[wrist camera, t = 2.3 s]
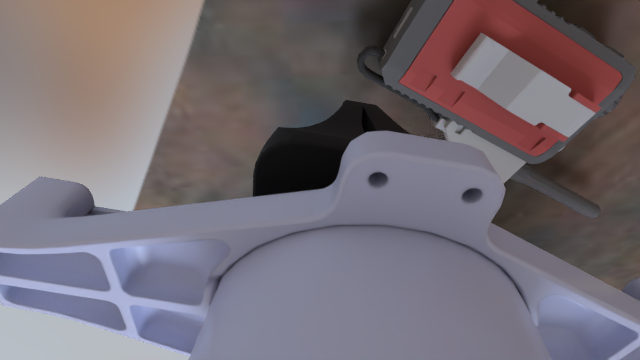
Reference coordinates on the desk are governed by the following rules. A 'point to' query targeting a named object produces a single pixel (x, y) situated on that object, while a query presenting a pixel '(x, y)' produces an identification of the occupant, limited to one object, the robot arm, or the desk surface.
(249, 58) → the desk surface
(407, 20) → the walkie-talkie
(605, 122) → the desk surface
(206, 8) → the desk surface
